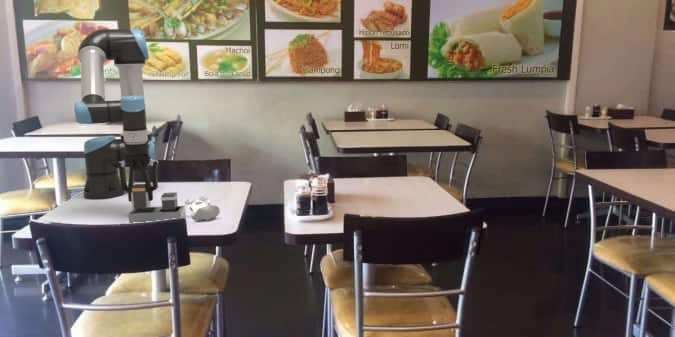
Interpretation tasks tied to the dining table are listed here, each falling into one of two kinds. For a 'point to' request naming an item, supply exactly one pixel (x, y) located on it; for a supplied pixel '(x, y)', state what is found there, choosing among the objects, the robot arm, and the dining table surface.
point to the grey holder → (159, 210)
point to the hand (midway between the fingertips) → (141, 210)
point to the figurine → (203, 210)
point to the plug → (139, 195)
